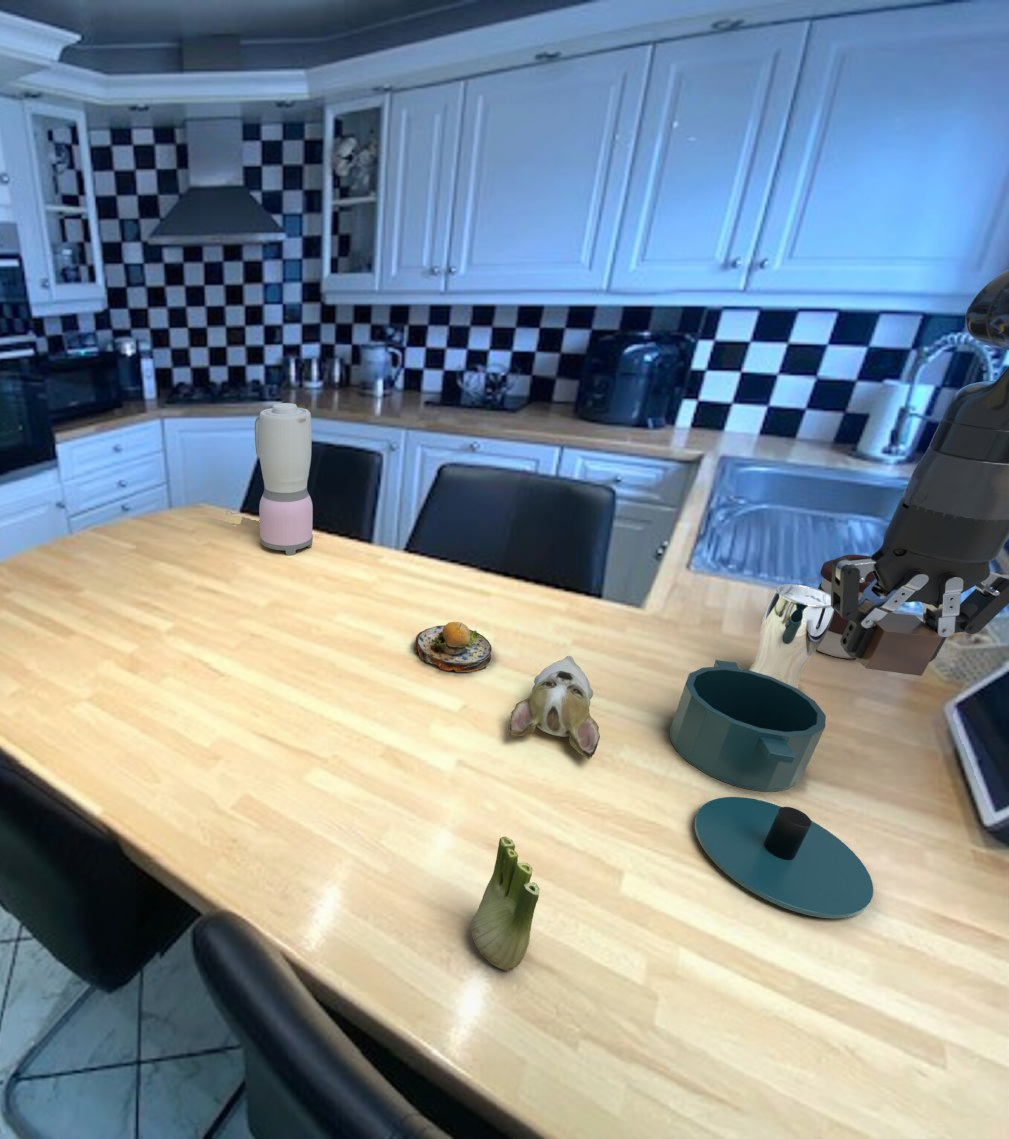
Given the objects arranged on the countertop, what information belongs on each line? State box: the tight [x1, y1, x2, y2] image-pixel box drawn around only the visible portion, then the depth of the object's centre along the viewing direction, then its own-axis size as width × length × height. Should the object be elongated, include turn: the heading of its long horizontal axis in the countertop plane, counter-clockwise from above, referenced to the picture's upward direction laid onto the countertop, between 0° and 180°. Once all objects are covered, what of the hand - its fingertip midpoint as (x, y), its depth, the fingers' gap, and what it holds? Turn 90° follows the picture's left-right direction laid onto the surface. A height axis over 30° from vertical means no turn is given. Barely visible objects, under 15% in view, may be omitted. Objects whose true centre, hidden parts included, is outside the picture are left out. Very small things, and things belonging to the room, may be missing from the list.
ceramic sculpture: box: [508, 655, 601, 760], centre depth 84 cm, size 11×9×15 cm
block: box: [855, 612, 942, 677], centre depth 63 cm, size 4×4×4 cm
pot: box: [669, 659, 827, 793], centre depth 78 cm, size 14×19×8 cm
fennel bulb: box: [470, 836, 540, 972], centre depth 55 cm, size 6×5×12 cm
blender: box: [254, 402, 314, 556], centre depth 139 cm, size 16×12×32 cm
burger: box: [414, 621, 493, 673], centre depth 101 cm, size 12×12×8 cm
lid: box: [694, 796, 874, 919], centre depth 64 cm, size 15×15×6 cm
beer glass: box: [748, 583, 835, 690], centre depth 89 cm, size 7×7×15 cm
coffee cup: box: [816, 554, 892, 659], centre depth 97 cm, size 10×10×15 cm
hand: (882, 657), depth 64 cm, fingers closed on block, 4 cm apart
